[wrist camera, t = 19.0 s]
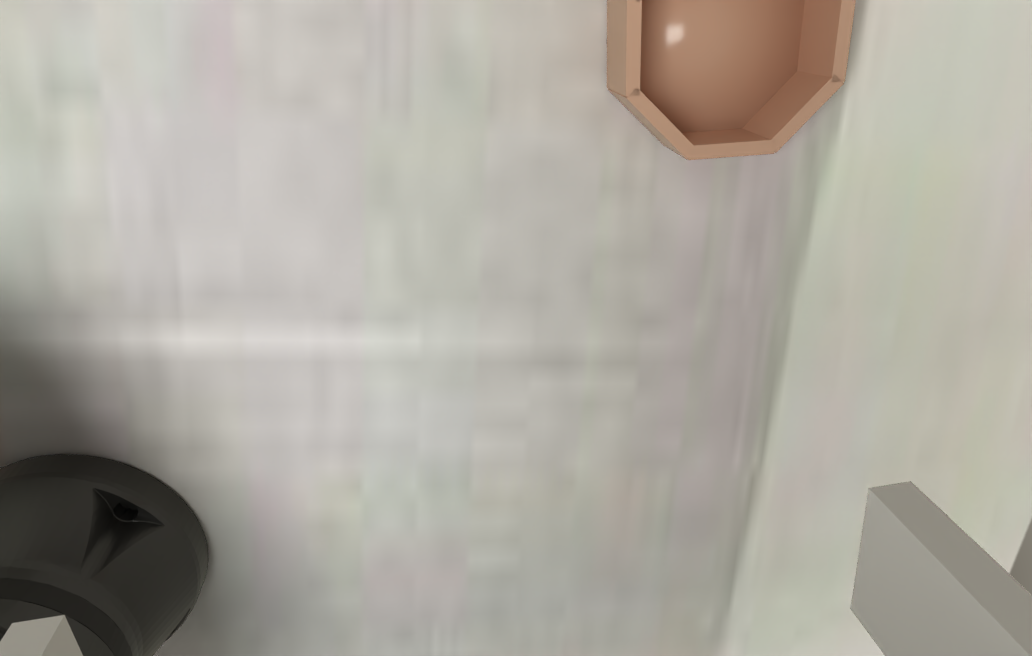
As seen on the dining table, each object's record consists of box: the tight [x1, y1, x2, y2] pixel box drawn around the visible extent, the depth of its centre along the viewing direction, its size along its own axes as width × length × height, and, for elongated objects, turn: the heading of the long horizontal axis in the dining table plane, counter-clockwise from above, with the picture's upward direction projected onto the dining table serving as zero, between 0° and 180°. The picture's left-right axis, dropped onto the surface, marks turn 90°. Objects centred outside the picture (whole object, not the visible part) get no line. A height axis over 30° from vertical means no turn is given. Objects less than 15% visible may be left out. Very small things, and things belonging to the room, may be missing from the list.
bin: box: [607, 0, 856, 160], centre depth 36 cm, size 11×11×4 cm
